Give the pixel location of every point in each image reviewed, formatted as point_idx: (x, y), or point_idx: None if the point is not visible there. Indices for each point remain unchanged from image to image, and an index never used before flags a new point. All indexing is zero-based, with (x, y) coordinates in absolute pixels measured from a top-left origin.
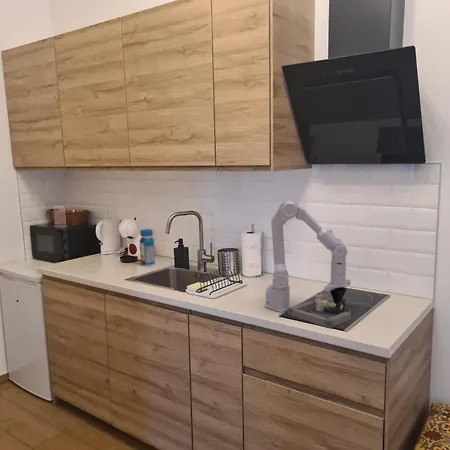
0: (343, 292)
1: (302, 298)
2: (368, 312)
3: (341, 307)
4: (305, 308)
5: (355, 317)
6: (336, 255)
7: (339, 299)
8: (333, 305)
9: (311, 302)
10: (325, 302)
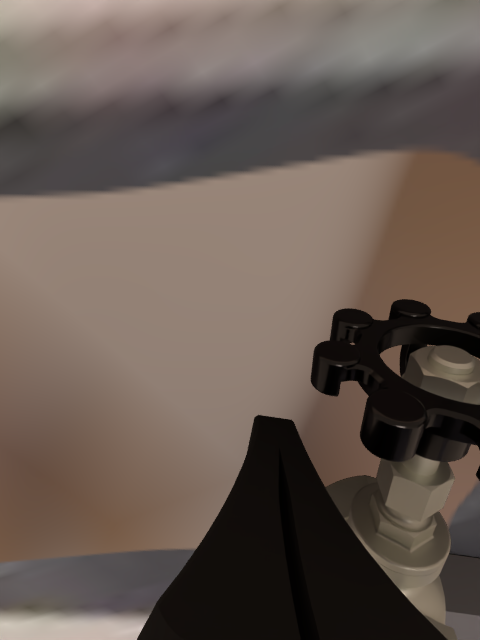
0: (268, 594)
1: None
2: (82, 52)
3: (468, 361)
4: (475, 584)
5: (413, 119)
6: None
7: (322, 492)
8: (439, 462)
9: None
10: (447, 556)
